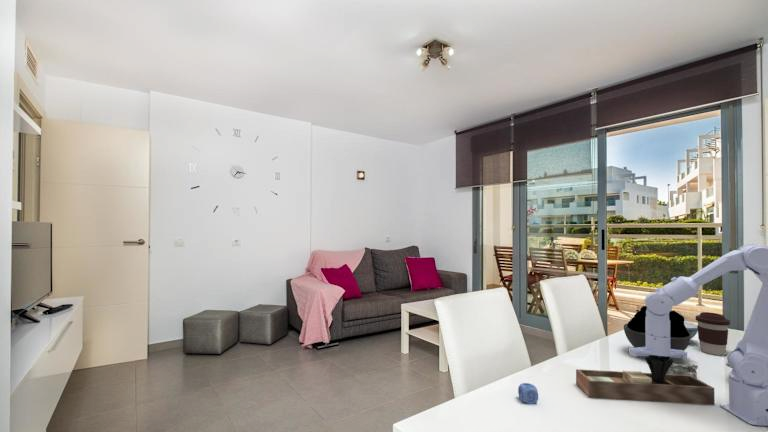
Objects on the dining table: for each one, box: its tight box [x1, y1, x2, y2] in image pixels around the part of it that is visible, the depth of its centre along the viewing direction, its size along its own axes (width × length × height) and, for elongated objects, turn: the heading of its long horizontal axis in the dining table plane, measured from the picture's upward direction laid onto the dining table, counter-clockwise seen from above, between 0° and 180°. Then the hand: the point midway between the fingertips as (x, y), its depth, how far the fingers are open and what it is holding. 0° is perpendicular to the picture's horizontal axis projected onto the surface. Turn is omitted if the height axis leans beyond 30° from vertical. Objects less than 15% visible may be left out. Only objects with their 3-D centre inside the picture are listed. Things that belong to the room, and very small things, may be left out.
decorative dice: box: [517, 382, 539, 405], centre depth 98 cm, size 4×4×4 cm
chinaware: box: [684, 320, 698, 340], centre depth 153 cm, size 15×15×8 cm
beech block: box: [622, 370, 652, 384], centre depth 103 cm, size 5×5×2 cm
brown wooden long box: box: [575, 368, 715, 406], centre depth 103 cm, size 32×9×4 cm, turn 85°
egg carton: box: [666, 362, 699, 379], centre depth 117 cm, size 11×8×4 cm
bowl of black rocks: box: [623, 305, 692, 352], centre depth 134 cm, size 20×20×19 cm
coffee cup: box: [695, 311, 731, 356], centre depth 139 cm, size 10×10×15 cm
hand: (657, 382), depth 102 cm, fingers closed
